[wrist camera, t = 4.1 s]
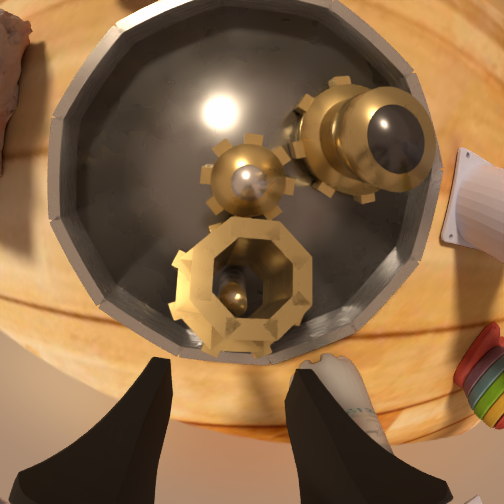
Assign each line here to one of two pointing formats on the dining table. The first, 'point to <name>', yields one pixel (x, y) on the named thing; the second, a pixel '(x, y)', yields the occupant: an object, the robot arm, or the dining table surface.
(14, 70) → the food item
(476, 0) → the dining table surface
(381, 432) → the bottle
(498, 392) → the stacking bear
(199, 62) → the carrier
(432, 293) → the dining table surface
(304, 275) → the planet gear
